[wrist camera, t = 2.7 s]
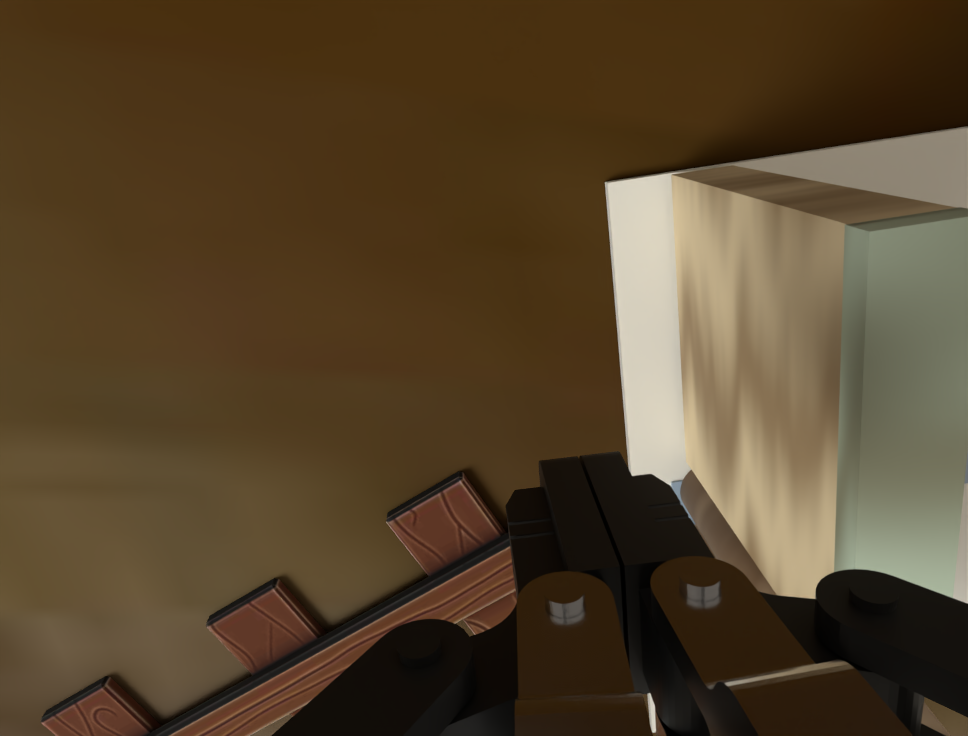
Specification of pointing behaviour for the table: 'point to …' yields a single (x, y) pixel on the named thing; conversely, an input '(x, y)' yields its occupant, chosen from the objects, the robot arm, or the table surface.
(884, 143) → the card
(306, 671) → the decorative fence
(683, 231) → the gate panel
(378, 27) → the table surface
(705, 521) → the fixed leg
